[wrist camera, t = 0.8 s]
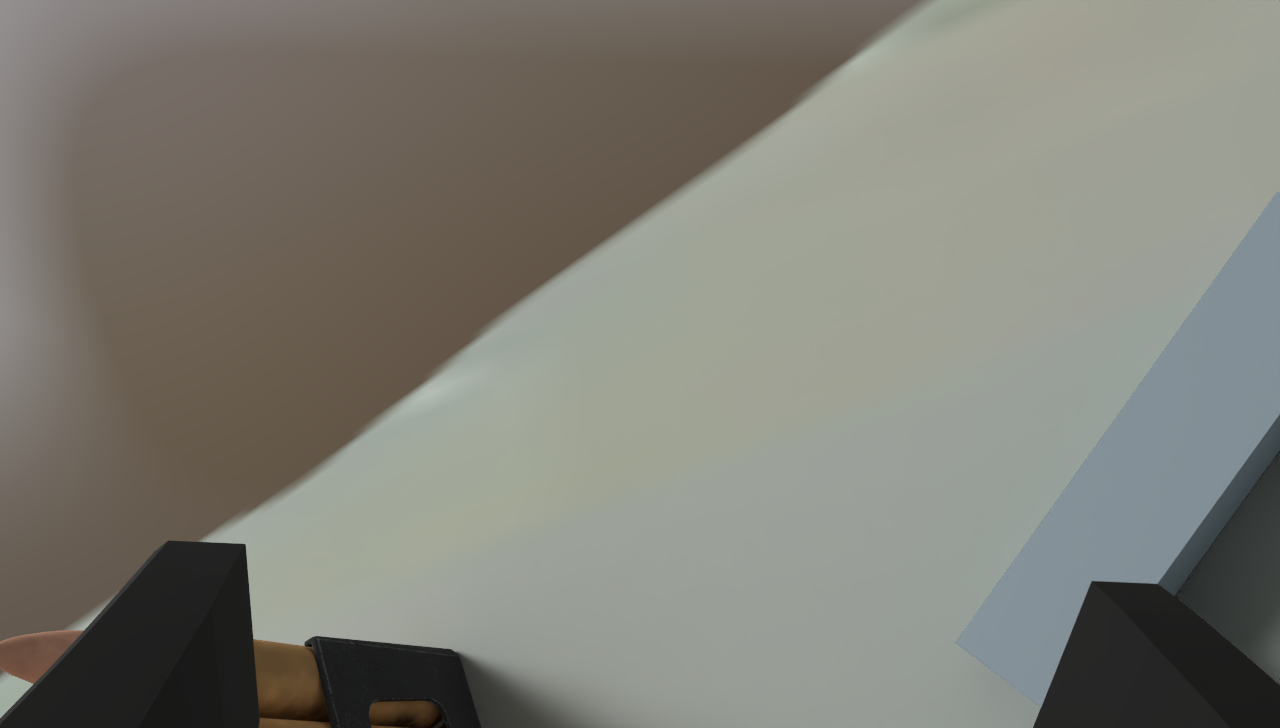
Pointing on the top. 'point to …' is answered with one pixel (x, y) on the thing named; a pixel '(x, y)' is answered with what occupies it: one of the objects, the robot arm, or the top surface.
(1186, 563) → the socket plate
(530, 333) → the top surface
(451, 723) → the ammunition clip
